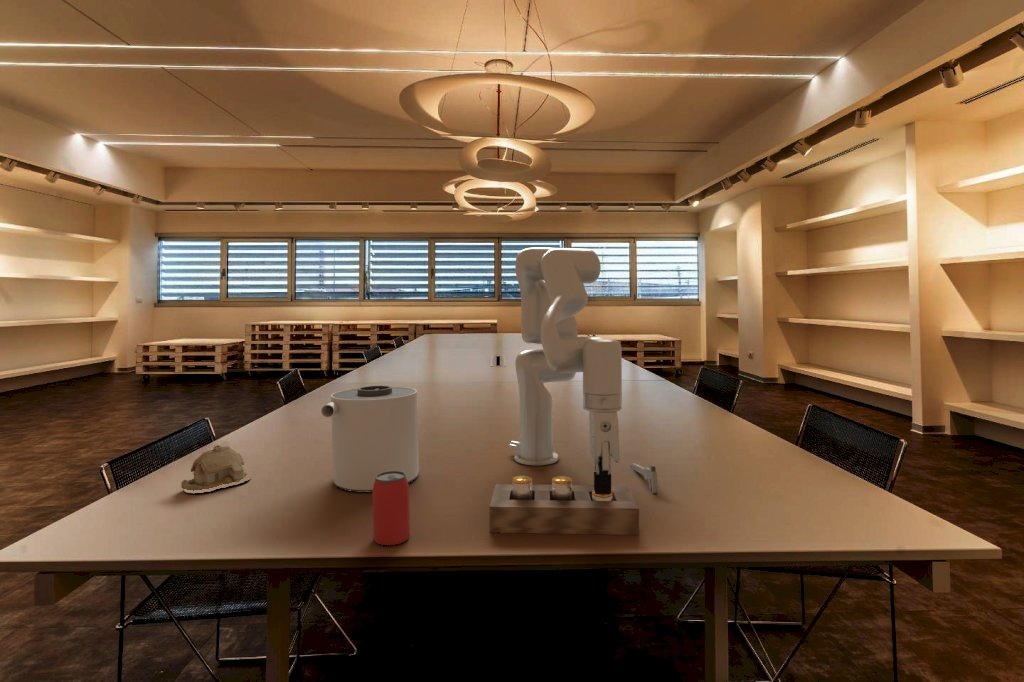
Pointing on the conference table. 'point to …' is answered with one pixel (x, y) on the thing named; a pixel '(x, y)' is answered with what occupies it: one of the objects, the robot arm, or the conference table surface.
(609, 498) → the right knob
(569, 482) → the middle knob
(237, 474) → the ceramic model
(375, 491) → the beer can
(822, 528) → the conference table surface
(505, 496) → the knob console
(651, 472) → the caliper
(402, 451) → the humidifier
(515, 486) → the left knob
